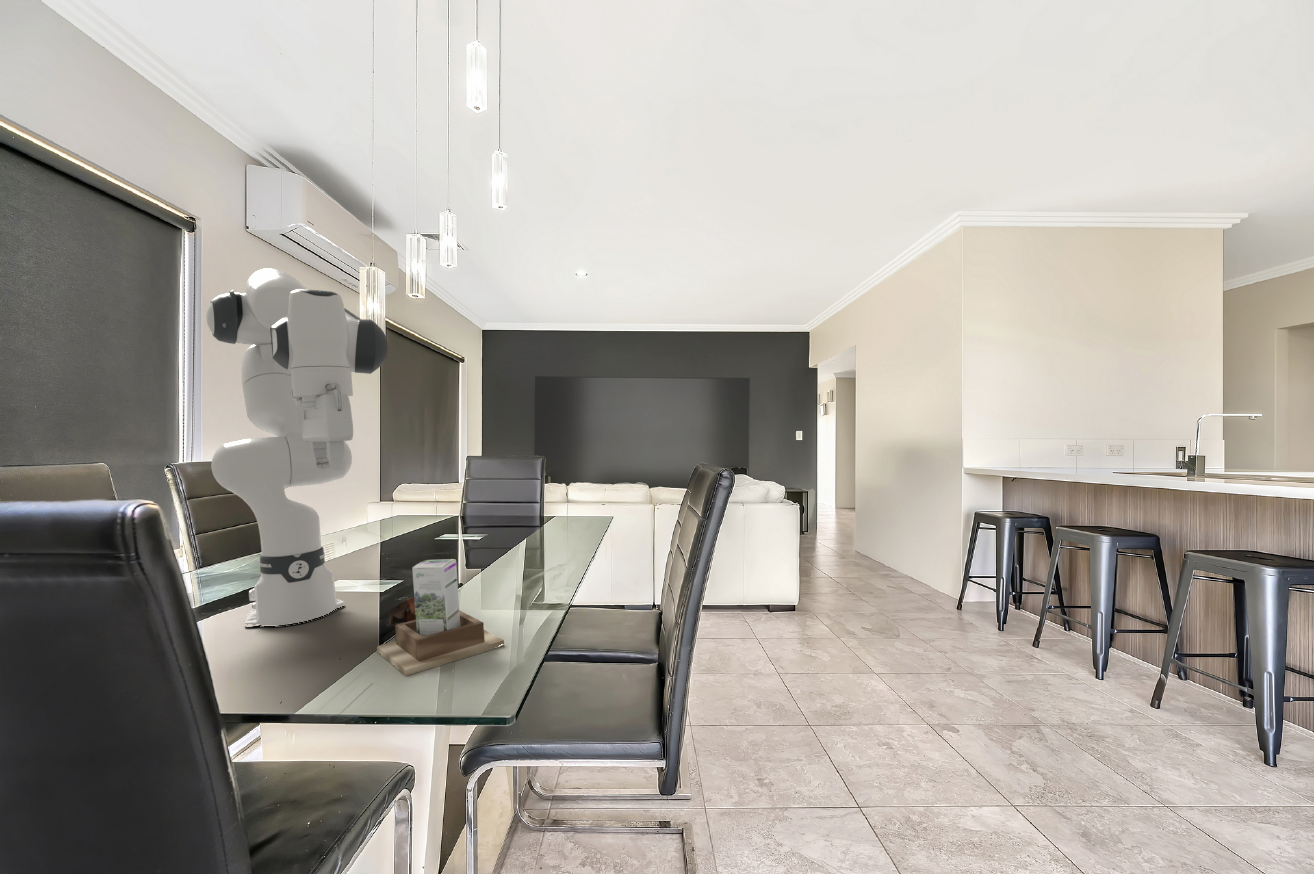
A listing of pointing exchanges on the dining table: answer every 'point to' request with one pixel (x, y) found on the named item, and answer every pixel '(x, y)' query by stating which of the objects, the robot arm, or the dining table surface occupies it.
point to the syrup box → (436, 596)
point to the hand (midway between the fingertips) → (328, 469)
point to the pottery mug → (402, 612)
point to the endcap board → (437, 645)
